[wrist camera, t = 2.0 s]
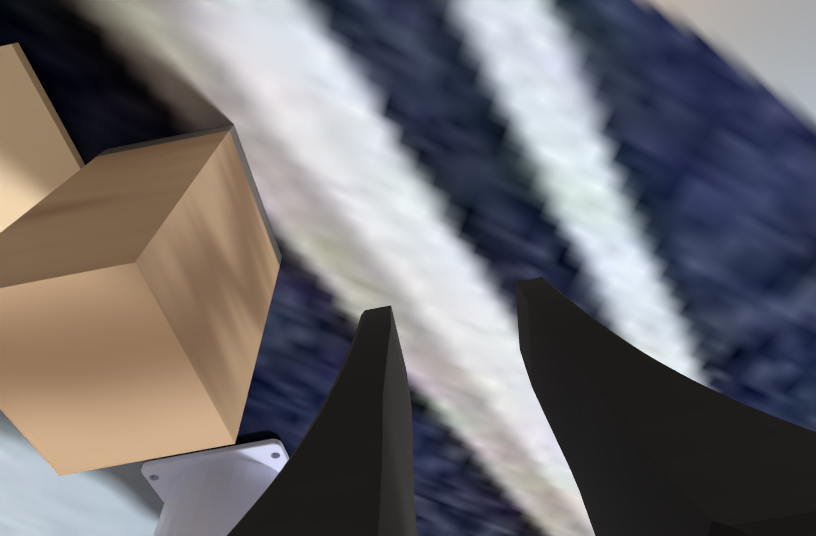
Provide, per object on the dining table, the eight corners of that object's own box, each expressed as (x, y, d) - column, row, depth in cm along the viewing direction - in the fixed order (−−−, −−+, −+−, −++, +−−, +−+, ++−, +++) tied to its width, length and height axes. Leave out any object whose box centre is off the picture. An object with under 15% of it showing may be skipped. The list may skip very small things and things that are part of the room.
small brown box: (281, 257, 22) (235, 443, 14) (171, 277, 22) (59, 476, 14) (233, 124, 19) (134, 262, 11) (105, 149, 19) (-93, 305, 11)
